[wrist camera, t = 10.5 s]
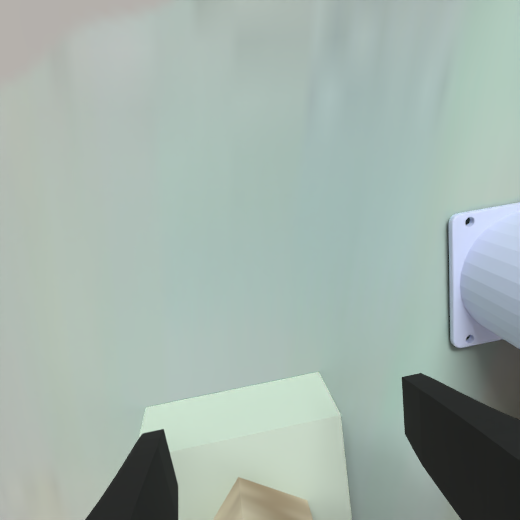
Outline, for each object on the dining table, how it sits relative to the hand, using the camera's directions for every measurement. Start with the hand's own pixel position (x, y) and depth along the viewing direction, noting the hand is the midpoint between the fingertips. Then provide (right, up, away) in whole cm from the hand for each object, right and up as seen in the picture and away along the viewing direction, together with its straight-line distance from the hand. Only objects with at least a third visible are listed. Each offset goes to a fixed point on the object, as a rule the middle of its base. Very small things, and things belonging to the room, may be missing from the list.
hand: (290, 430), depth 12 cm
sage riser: (-2, -7, +13) cm, 15 cm away
